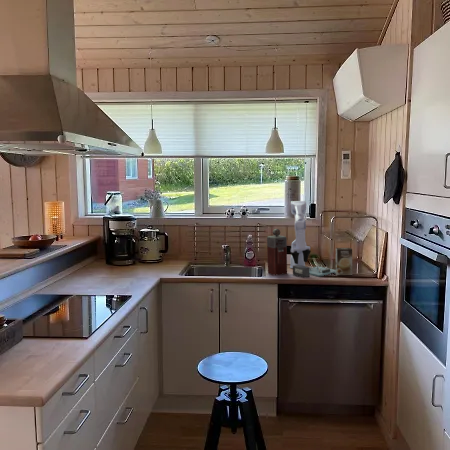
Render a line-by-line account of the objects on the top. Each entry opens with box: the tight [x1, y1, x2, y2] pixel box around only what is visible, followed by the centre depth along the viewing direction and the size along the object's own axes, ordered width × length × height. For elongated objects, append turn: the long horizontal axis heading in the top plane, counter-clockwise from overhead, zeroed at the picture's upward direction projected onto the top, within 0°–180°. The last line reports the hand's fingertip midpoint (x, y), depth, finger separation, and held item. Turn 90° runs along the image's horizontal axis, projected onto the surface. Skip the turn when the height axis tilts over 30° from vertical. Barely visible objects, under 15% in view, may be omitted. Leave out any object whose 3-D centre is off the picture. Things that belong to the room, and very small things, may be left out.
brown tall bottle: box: [266, 228, 288, 276], centre depth 279 cm, size 9×11×28 cm
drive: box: [292, 265, 310, 278], centre depth 272 cm, size 10×4×6 cm, turn 35°
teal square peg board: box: [309, 264, 336, 277], centre depth 280 cm, size 18×18×4 cm
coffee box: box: [335, 247, 353, 276], centre depth 270 cm, size 9×6×16 cm
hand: (300, 262), depth 271 cm, fingers open, 7 cm apart
